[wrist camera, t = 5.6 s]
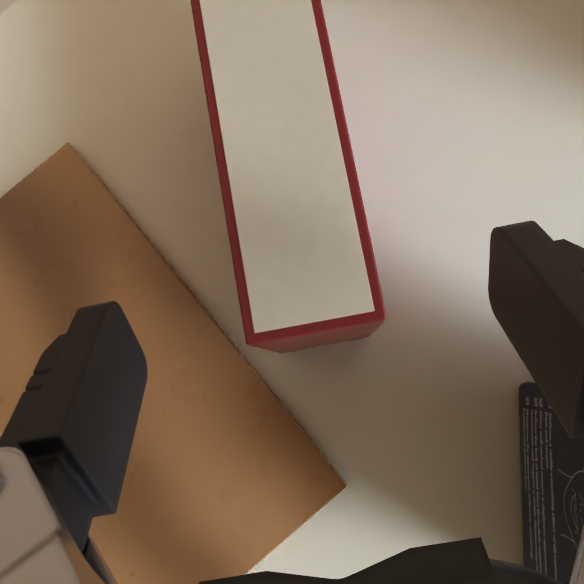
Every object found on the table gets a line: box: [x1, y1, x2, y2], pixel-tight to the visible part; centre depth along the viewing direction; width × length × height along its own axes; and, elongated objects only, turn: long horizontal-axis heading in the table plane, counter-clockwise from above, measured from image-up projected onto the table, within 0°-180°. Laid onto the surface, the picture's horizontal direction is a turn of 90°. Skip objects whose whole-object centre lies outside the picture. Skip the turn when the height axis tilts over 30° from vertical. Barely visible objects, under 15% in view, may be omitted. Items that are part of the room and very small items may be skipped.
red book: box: [190, 0, 387, 353], centre depth 19 cm, size 14×4×8 cm, turn 10°
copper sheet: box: [0, 143, 347, 584], centre depth 23 cm, size 12×20×1 cm, turn 40°
